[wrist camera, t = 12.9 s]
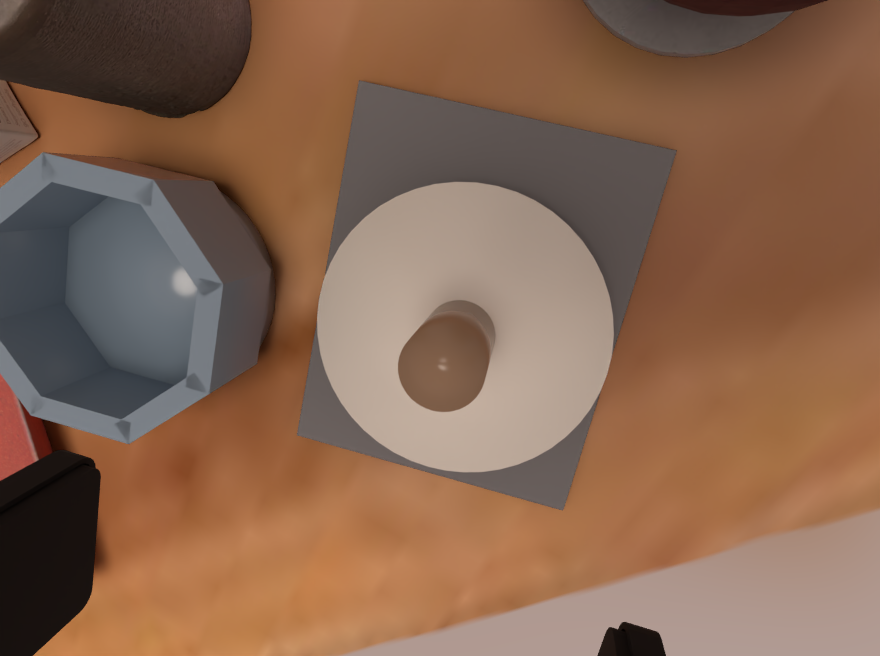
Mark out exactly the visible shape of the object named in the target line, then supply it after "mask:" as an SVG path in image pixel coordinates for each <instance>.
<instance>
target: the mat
mask: <svg viewBox="0 0 880 656" xmlns="http://www.w3.org/2000/svg"><path fill="white" fill-rule="evenodd" d="M676 151H677V150H672V149H668V148H663V147H658V146H654V145H649V144H645V143H640V142H636V141H631V140H627V139H622V138H618V137H613V136H609V135H604V134H600V133H595V132H591V131H586V130H581V129H577V128H572V127H568V126H563V125H559V124H554V123H550V122H545V121H541V120H536V119H532V118H527V117H523V116H518V115H514V114H509V113H504V112H500V111H495V110H491V109H486V108H482V107H477V106H473V105H468V104H464V103H459V102H455V101H450V100H446V99H441V98H437V97H432V96H427V95H423V94H418V93H414V92H409V91H405V90H400V89H396V88H391V87H387V86H382V85H378V84H373V83H369V82H364V81H360V80H359V84H358V90H357V95H356V101H355V107H354V112H353V118H352V124H351V130H350V135H349V141H348V147H347V152H346V158H345V164H344V170H343V175H342V181H341V187H340V192H339V198H338V204H337V210H336V215H335V221H334V227H333V232H332V238H331V244H330V250H329V255H328V261H327V267H326V272H325V275H326V273H327V270H328V268H329V265H330V263H331V261H332V259H333V257H334V256H335V254H336V252H337V250H338V248H339V247H340V245H341V244H342V243H343V241H344V240H345V239H346V237H347V236H348V235H349V233H350V232H351V231H352V230H353V229H354V228H355V227H356V226H357V225H358V224H359V223H360V222H361V221H362V220H363V219H364V218H365V217H366V216H367V215H369V214H370V213H371V212H373V211H374V210H375V209H377V208H378V207H379V206H381V205H382V204H384V203H386V202H388V201H389V200H391V199H393V198H395V197H396V196H399V195H401V194H404V193H406V192H409V191H411V190H414V189H417V188H421V187H425V186H429V185H433V184H439V183H449V182H477V183H483V184H489V185H495V186H500V187H503V188H506V189H509V190H513V191H516V192H518V193H521V194H523V195H525V196H527V197H529V198H531V199H533V200H536V201H537V202H539V203H540V204H542V205H543V206H545V207H546V208H548V209H550V210H551V211H553V212H554V213H555V214H556V215H557V216H558V217H560V218H561V219H562V220H563V221H564V222H565V223H567V224H568V225H569V226H570V227H571V229H572V230H573V231H574V232H575V233H576V234H577V235H578V236H579V238H580V239H581V240H582V241H583V242H584V244H585V245H586V247H587V248H588V250H589V251H590V253H591V254H592V256H593V257H594V259H595V261H596V263H597V265H598V267H599V269H600V271H601V273H602V275H603V278H604V281H605V284H606V287H607V290H608V293H609V296H610V301H611V307H612V313H613V326H614V339H613V349H612V354H613V351H614V348H615V344H616V341H617V338H618V335H619V332H620V329H621V325H622V322H623V319H624V316H625V313H626V310H627V306H628V303H629V300H630V297H631V294H632V291H633V287H634V284H635V281H636V278H637V275H638V272H639V269H640V265H641V262H642V259H643V256H644V253H645V250H646V246H647V243H648V240H649V237H650V234H651V231H652V227H653V224H654V221H655V218H656V215H657V212H658V208H659V205H660V202H661V199H662V196H663V193H664V189H665V186H666V183H667V180H668V177H669V174H670V170H671V167H672V164H673V161H674V158H675V155H676ZM600 392H601V391H600ZM599 395H600V393H599ZM599 395H598V397H597V398H596V400H595V402H594V404H593V406H592V407H591V409H590V410H589V412H588V413H587V414H586V415H585V417H584V418H583V419H582V421H581V422H580V423H579V424H578V425H577V426H576V427H575V428H574V429H573V430H572V431H571V432H570V433H569V434H568V435H567V436H566V437H565V438H564V439H563V440H561V441H560V442H559V443H557V444H556V445H555V446H553V447H552V448H551V449H549V450H547V451H545V452H544V453H542V454H540V455H538V456H537V457H535V458H533V459H530V460H528V461H525V462H523V463H521V464H518V465H515V466H511V467H507V468H504V469H500V470H493V471H486V472H454V471H445V470H440V469H436V468H432V467H427V466H424V465H422V464H419V463H416V462H413V461H410V460H408V459H406V458H404V457H402V456H400V455H398V454H396V453H394V452H392V451H391V450H389V449H388V448H386V447H385V446H383V445H382V444H380V443H379V442H377V441H376V440H375V439H374V438H372V437H371V436H370V435H369V434H368V433H366V432H365V431H364V430H363V429H362V428H361V427H360V426H359V425H358V423H357V422H356V421H355V420H354V419H353V418H352V417H351V416H350V414H349V413H348V412H347V410H346V409H345V408H344V406H343V405H342V404H341V402H340V400H339V398H338V397H337V395H336V393H335V391H334V390H333V388H332V386H331V383H330V381H329V379H328V376H327V374H326V371H325V368H324V365H323V361H322V358H321V354H320V348H319V342H318V335H317V324H316V330H315V335H314V341H313V347H312V352H311V358H310V364H309V370H308V375H307V381H306V387H305V392H304V398H303V404H302V410H301V415H300V421H299V427H298V432H297V435H298V436H302V437H305V438H309V439H312V440H316V441H319V442H323V443H326V444H330V445H333V446H337V447H340V448H344V449H347V450H351V451H355V452H358V453H362V454H365V455H369V456H372V457H376V458H379V459H383V460H386V461H390V462H393V463H397V464H400V465H404V466H407V467H411V468H415V469H418V470H422V471H425V472H429V473H432V474H436V475H439V476H443V477H446V478H450V479H453V480H457V481H460V482H464V483H467V484H471V485H474V486H478V487H482V488H485V489H489V490H492V491H496V492H499V493H503V494H506V495H510V496H513V497H517V498H520V499H524V500H527V501H531V502H534V503H538V504H542V505H545V506H549V507H552V508H556V509H559V510H563V509H564V506H565V503H566V500H567V496H568V493H569V490H570V487H571V484H572V481H573V477H574V474H575V471H576V468H577V465H578V462H579V458H580V455H581V452H582V449H583V446H584V443H585V439H586V436H587V433H588V430H589V427H590V424H591V420H592V417H593V414H594V411H595V408H596V405H597V401H598V398H599Z"/></svg>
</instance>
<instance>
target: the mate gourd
mask: <svg viewBox="0 0 880 656" xmlns="http://www.w3.org/2000/svg"><path fill="white" fill-rule="evenodd" d="M824 1H827V0H583V2H584V3H585V4H586V6H587V7H588V9H589V10H590V11H591V13H592V14H593V16H594V17H595V18H596V19H597V20H598V21H599V22H600V23H601V24H602V25H603V26H604V27H606V28H607V29H608V30H609V31H610V32H611V33H612V34H613V35H615V36H616V37H618V38H620V39H622V40H623V41H625V42H627V43H629V44H630V45H632V46H634V47H636V48H639V49H642V50H645V51H648V52H652V53H655V54H658V55H663V56H675V57H686V58H687V57H696V56H704V55H713V54H717V53H720V52H723V51H726V50H729V49H732V48H736V47H739V46H741V45H743V44H745V43H747V42H749V41H751V40H753V39H755V38H757V37H759V36H760V35H762V34H764V33H766V32H768V31H769V30H771V29H772V28H774V27H775V26H776V25H777V24H779V23H780V22H781V21H783V20H784V19H785V18H787V17H788V16H789V15H790V14H792V13H793V12H794V11H796V10H799V9H802V8H805V7H808V6H811V5H815V4H818V3H821V2H824Z"/></svg>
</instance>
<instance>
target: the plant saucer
mask: <svg viewBox="0 0 880 656" xmlns="http://www.w3.org/2000/svg"><path fill="white" fill-rule="evenodd" d="M52 452H53V451H52V448H51V445H50V442H49V439H48V436H47V433H46V429H45V426H44V423H43V421H42V419H41V418H38V417H35V416H31V415H30V414H29V412H28V411H27V409H26V408H25V407H24V405H23V404H22V403H21V401H20V400H19V399H18V397H17V396H16V395H15V393H14V392H13V390H12V389H11V388H10V386H9V385H8V384H7V382H6V381H5V380H4V378H3V377H2V375H1V374H0V481H1V480H3V479H4V478H6V477H8V476H10V475H12V474H14V473H16V472H17V471H19V470H21V469H23V468H25V467H27V466H28V465H30V464H32V463H34V462H36V461H38V460H39V459H41V458H43V457H45V456H47V455H49V454H51V453H52Z"/></svg>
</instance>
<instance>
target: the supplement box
mask: <svg viewBox="0 0 880 656" xmlns="http://www.w3.org/2000/svg"><path fill="white" fill-rule="evenodd" d="M36 138H38V135H37V132H36V131H35V129H34V128H33V126H32V125H31V123H30V122H29V120H28V118H27V117H26V115H25V114H24V112H23V110H22V108H21V107H20V105H19V103H18V102H17V100H16V98H15V97H14V95H13V93H12V91H11V90H10V88H9V86H8V84H7V82H6V81H4V80H0V163H1V162H2V161H4V160H5V159H7V158H8V157H10V156H11V155H13V154H15V153H16V152H18V151H19V150H20V149H22V148H23V147H25V146H27V145H28V144H30V143H31V142H32V141H34V140H35V139H36Z"/></svg>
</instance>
